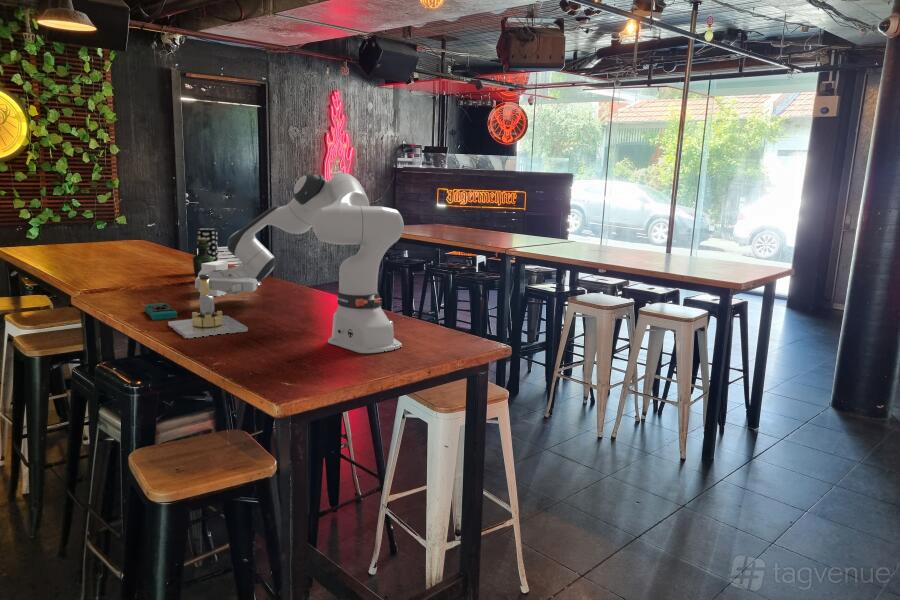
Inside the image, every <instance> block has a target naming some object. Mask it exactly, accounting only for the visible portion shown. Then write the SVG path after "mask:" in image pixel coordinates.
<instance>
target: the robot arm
mask: <svg viewBox="0 0 900 600" xmlns="http://www.w3.org/2000/svg"><path fill="white" fill-rule="evenodd" d="M292 195H293V198H292V199H291V200H290V201H289V202H288V203H287V204H285V205H282V206H281V205H278V204H277V205H274V206H271V207H270V208H269V209H266V210H265V211H264V212H263V213H261V214H260V215H258V216H256V218H254V219H252V221H250V222H249V223H248V224H247V225H245V226H244V227H242V228H241V229H238V230H237V231H236V232H234V233H232V234H231V235H230V237H229V238H228V239H227V244H226V245H227V250H228V251H229V253H230V254H232V255H233V256H234V257H235V258H237V259H238V261H240V262H241V263H242V264H240V265H237V266H234V267H232V268H228V269H226V270H213V271H209V273H208V274H209V290H219V291H223V292H226V294H230V295H237V294H239V293H243V292H244V293H253V292H255V291H257V289H258V286H261V285H262V281H263V280H265V279H266V278H267V277H269V276H270V275H271V274H272V272H273V271H274V270H275V268H276V262H277V260H276V257H275V256H274V254H272V253H271V251H269V249H268V248H266V246H264V245H263V244H262V243H261V242H260V241H259V240H258V239H257V237H256V234H257V233H259V232H260V231H261V230H263V228H265V227H266V226H267V225H268V226H274V227H276V228H278V229H280V230H282V231H283V232H286V233H288V234H292V235H303V234H304V233H305V234H306V233H307V232H308V231H309V230H310V229H311V228H312V230H313V233H314V234H315V237H316V239H318V240H319V241H320V242H322V243H327V244H331V245H337V246H339V245H346V246H347V245H352V246H353V245H360V246H359V250H358V251H357V253H356V254H354V255H351V256H350V257H347V258H345V260H343V261H342V262H341V264H340V266H339V268H338V269H339V270H338V271H339V272H338V291H337V296H336V301H337V303H336V304H337V305H338V307H337V309H336V310H335V312H334V313H333V318H332V329H331V330H332V331H331V336H330V337H329V338H328V340H327V343H328V344H331V345H335V346H337V347H340V348H343V349H346V350H350V351H352V352H355V353H359V354H377V353H384V351H385V352H390V351H395V350H398V349H400V347H401V348H402V347H403V344H402V342H400V341H399V340H397V339H396V338H395V337H394V336H395V335H394V322H393V321H392V320H390V319H389V318H388V316H387V315H386V313H385V312H384V310H383V309H382V307H381V306H382V297H380V293H379V292H378V281H379V273H380V272H379V269H380V265H381V262H382V260H383V257H384V255H385V254H386V252H388V250H389V248H390V247H392V246H393V245H394V244H396V243H397V242H398V241H399V240H400V238H401V237H402V235H403V233H404V228H405V225H404V220H403V219H404V218H403V216H402V215H401V213H400V211H398V210H397V208H396V209H395V208H391V207H386V206H380V205H379V206H378V205H370V201H369V198H368V196H367V194H366V191H365V189H364V187H363V186H362V184H361V183H360V182H359V180H358V179H356V178H355V177H354V176H353V175H352V174H350V173H346V172H341V173H338V174H335V175H334V176H333V177H331V179H330V180H327V179H325V178H324V175H322V174H319V175H317V174H314V173H305V174H303V175H302V176H301V177H299V179H298V180H297V181H296V183H295V185H294V188H293V190H292ZM194 287H195V289H197V290H199V289H200V278H199V277H197V278H196V279H195V278H194ZM394 349H395V350H394Z"/></svg>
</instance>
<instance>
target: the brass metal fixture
mask: <svg viewBox="0 0 900 600" xmlns="http://www.w3.org/2000/svg"><path fill="white" fill-rule="evenodd" d="M199 278H200V293H199V294H200V295H209V274H200V275H199ZM200 295H199V296H200ZM197 313H198V314H197ZM223 316H224V315H223V311H222V310H217V311H216V312H215V311H214V317H212V315H211V314H205V318H202V317H200V312H197V311H194V312H193V311H192V312H191V319H192V323H193V325H194V326H198V327H213V326H218V325H221V324H223Z"/></svg>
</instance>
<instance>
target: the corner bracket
mask: <svg viewBox="0 0 900 600" xmlns="http://www.w3.org/2000/svg"><path fill="white" fill-rule="evenodd" d="M228 264H229V263H228V260H218V261H214V262H208V263H203V264H201V267H202V270H201V271H200V272H199V273H198V277H199V275H200V274H208V273H209V271H213V270H226V269H229V266H228ZM199 292H200V289H198V293H199ZM225 294H226V295H227V292H223V291H219V290H209V295H214V296H219V297H222V296H221V295H223V296H226V295H225Z"/></svg>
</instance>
